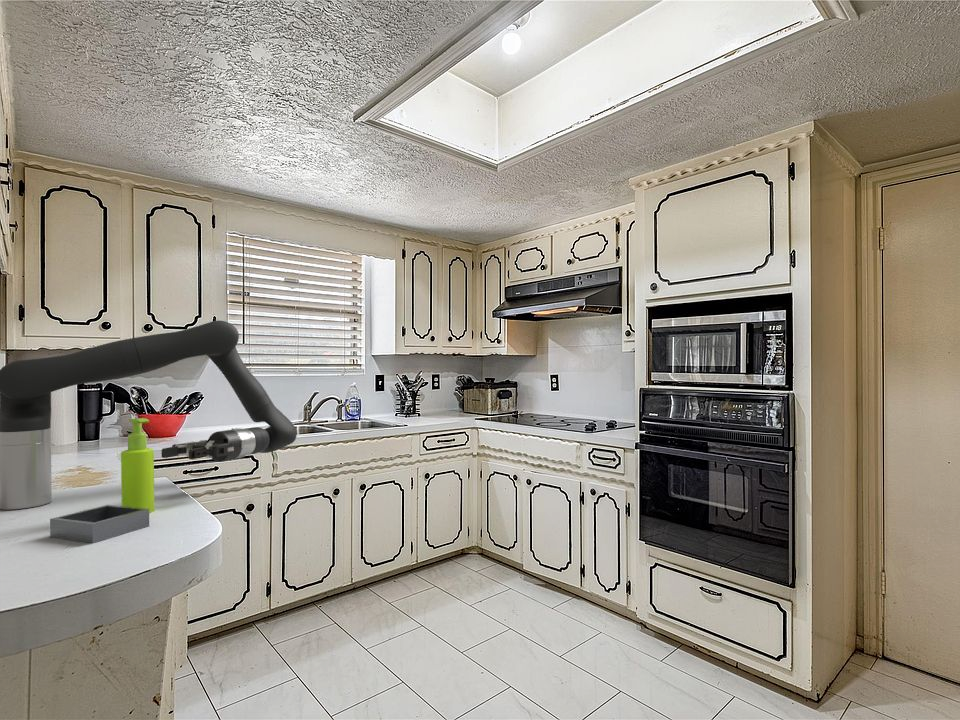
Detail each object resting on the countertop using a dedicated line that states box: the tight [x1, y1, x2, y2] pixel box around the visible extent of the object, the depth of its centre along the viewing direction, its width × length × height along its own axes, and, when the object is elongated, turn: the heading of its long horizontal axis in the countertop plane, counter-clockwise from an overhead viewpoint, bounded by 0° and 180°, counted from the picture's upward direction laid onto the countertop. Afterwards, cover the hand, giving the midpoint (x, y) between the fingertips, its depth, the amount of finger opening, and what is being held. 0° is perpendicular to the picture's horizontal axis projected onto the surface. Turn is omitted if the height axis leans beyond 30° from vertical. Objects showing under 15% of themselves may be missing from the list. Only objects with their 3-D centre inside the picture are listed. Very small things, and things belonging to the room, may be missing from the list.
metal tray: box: [49, 504, 150, 544], centre depth 102 cm, size 12×11×3 cm
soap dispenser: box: [120, 417, 155, 514], centre depth 115 cm, size 6×7×20 cm
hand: (176, 454), depth 124 cm, fingers open, 8 cm apart
